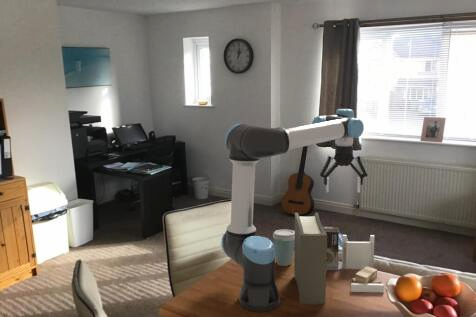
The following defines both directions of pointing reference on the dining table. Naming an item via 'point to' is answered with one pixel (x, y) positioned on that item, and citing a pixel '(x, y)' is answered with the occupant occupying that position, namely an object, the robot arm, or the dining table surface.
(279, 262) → the disposable coffee cup
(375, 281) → the offcut lower
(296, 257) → the book
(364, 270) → the offcut upper
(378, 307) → the dining table surface
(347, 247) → the rack
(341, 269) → the mat
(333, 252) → the coffee box
